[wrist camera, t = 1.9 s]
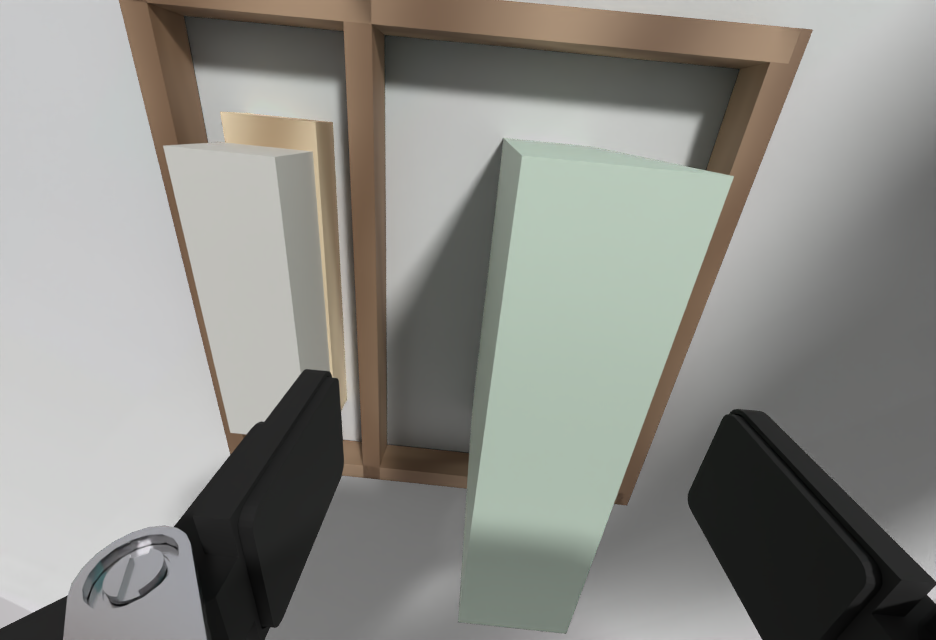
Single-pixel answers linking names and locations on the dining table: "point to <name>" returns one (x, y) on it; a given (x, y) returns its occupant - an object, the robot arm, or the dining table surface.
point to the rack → (365, 25)
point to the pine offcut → (322, 144)
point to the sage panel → (570, 362)
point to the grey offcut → (253, 267)
